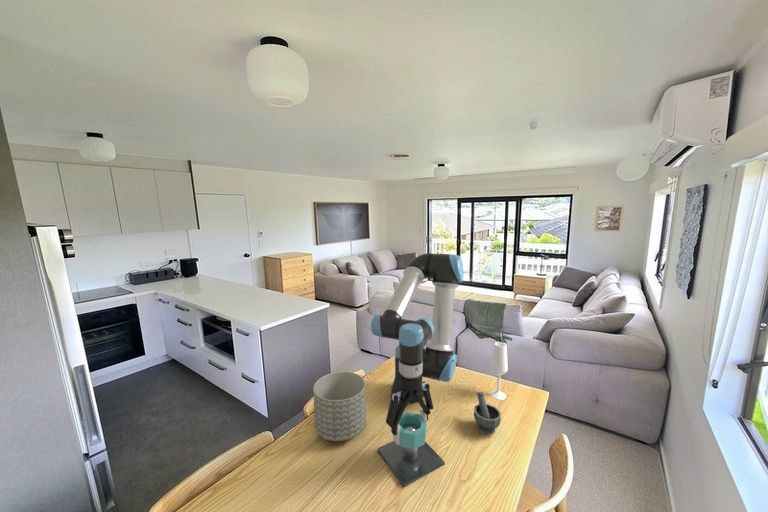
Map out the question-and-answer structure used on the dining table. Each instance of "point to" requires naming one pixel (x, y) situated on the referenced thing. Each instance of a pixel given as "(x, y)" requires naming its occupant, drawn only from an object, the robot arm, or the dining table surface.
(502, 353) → the champagne flute
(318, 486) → the dining table surface
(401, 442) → the ring
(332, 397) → the planter
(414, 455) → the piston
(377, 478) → the dining table surface
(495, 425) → the mortar and pestle
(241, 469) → the dining table surface
